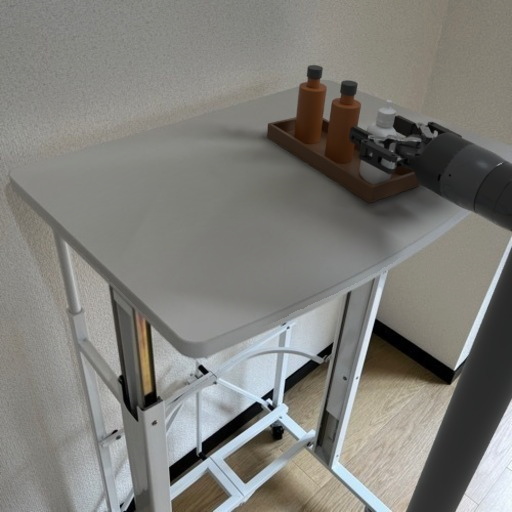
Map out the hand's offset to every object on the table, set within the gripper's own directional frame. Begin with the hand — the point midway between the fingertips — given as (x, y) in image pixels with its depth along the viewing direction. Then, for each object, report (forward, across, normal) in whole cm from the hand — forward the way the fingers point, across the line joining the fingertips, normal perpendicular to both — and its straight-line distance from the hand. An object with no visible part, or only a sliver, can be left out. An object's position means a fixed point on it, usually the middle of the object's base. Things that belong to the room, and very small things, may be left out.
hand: (373, 127), depth 80 cm
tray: (+6, 0, +8) cm, 10 cm away
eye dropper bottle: (-2, 0, +8) cm, 8 cm away
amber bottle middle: (+6, 0, +7) cm, 10 cm away
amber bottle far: (+14, 0, +7) cm, 16 cm away
